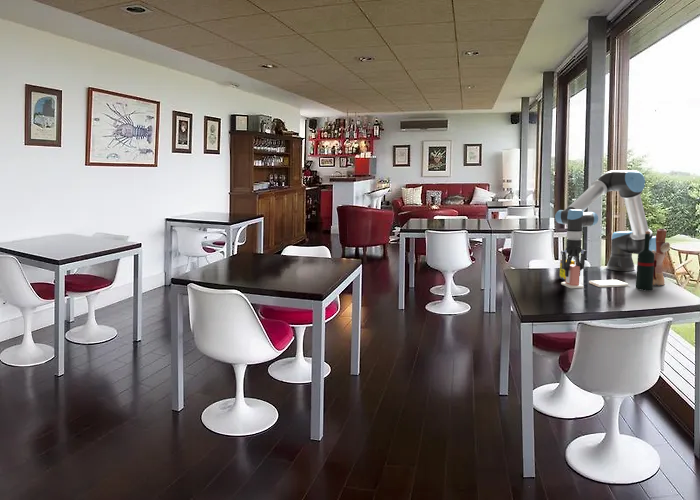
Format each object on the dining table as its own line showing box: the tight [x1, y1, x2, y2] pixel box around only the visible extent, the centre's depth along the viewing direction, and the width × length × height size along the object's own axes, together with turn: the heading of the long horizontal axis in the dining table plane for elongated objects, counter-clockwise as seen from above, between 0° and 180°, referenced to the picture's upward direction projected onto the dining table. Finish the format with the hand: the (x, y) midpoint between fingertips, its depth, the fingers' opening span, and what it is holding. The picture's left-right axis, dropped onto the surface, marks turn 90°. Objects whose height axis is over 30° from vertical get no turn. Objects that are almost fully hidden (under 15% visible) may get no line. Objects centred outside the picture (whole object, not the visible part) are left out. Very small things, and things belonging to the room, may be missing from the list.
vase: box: [652, 228, 671, 287], centre depth 306 cm, size 10×7×30 cm
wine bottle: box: [635, 231, 657, 292], centre depth 297 cm, size 8×10×30 cm
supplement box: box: [559, 259, 576, 282], centre depth 324 cm, size 6×6×11 cm
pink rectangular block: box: [560, 264, 585, 289], centre depth 307 cm, size 7×11×11 cm, turn 7°
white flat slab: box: [588, 279, 630, 288], centre depth 310 cm, size 16×11×1 cm
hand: (572, 282), depth 308 cm, fingers closed on pink rectangular block, 4 cm apart
